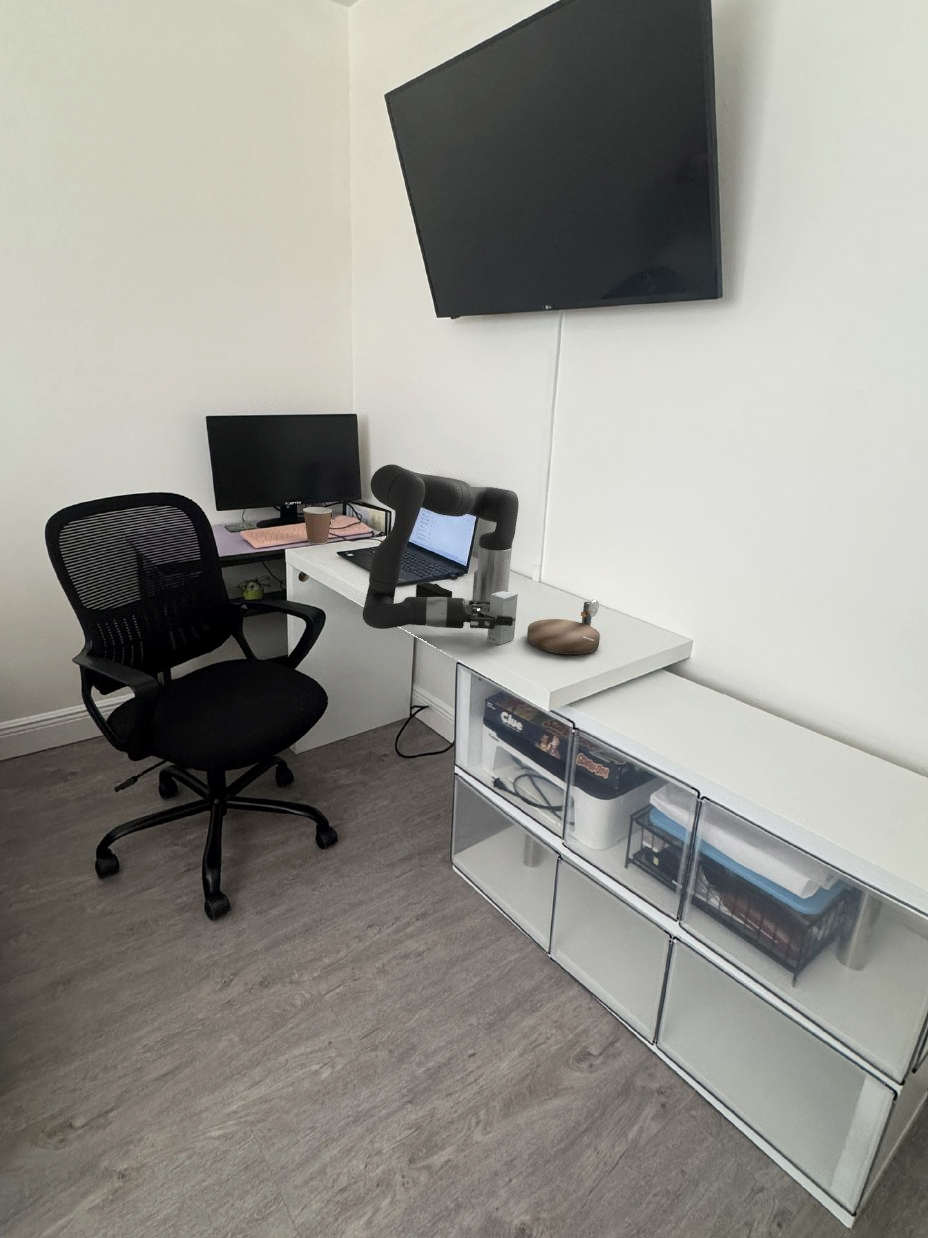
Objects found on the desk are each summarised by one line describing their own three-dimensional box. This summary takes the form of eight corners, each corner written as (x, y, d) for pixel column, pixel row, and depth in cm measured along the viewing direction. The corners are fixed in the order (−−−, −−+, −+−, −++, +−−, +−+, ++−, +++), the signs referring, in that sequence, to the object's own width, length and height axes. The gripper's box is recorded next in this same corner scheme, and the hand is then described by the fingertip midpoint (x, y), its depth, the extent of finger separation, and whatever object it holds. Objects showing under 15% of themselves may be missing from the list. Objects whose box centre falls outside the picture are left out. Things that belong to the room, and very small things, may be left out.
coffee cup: (336, 540, 260) (336, 508, 256) (325, 546, 251) (324, 513, 247) (310, 537, 262) (310, 505, 258) (298, 543, 253) (297, 510, 249)
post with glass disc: (586, 636, 182) (590, 602, 178) (576, 633, 183) (580, 599, 180) (595, 631, 185) (599, 598, 182) (585, 628, 187) (589, 595, 184)
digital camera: (454, 614, 191) (456, 590, 189) (439, 618, 188) (441, 593, 185) (430, 604, 198) (431, 580, 196) (415, 607, 195) (416, 583, 192)
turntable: (512, 639, 174) (513, 630, 173) (551, 622, 188) (552, 613, 187) (575, 660, 164) (577, 650, 163) (611, 641, 177) (612, 632, 176)
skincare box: (500, 645, 172) (504, 598, 168) (486, 640, 174) (489, 594, 170) (515, 639, 176) (519, 593, 172) (501, 634, 179) (504, 589, 175)
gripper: (445, 607, 165) (515, 611, 165) (445, 589, 178) (510, 592, 179) (444, 637, 167) (512, 640, 168) (444, 616, 181) (507, 620, 181)
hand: (511, 615), depth 173 cm, fingers open, 7 cm apart
